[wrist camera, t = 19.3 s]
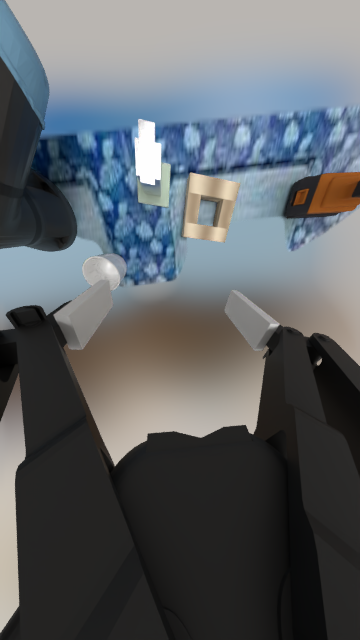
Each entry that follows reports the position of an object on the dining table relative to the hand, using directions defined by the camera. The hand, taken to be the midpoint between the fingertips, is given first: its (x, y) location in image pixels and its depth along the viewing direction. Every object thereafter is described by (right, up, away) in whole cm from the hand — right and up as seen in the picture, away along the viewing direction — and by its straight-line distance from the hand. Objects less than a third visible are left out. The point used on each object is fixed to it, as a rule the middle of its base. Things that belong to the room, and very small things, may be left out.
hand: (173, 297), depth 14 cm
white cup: (-18, +13, +24) cm, 33 cm away
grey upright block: (-5, +28, +15) cm, 32 cm away
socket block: (+7, +25, +19) cm, 32 cm away
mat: (-5, +28, +15) cm, 32 cm away
